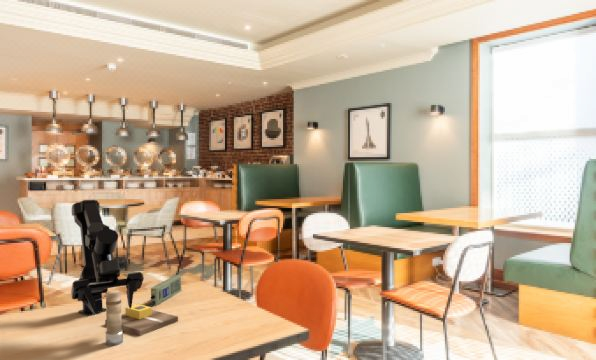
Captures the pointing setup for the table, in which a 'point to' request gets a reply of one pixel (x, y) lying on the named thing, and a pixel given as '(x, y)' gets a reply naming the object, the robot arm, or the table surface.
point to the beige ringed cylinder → (113, 318)
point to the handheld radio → (165, 290)
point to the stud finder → (138, 311)
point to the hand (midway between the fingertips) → (113, 310)
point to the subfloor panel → (146, 322)
